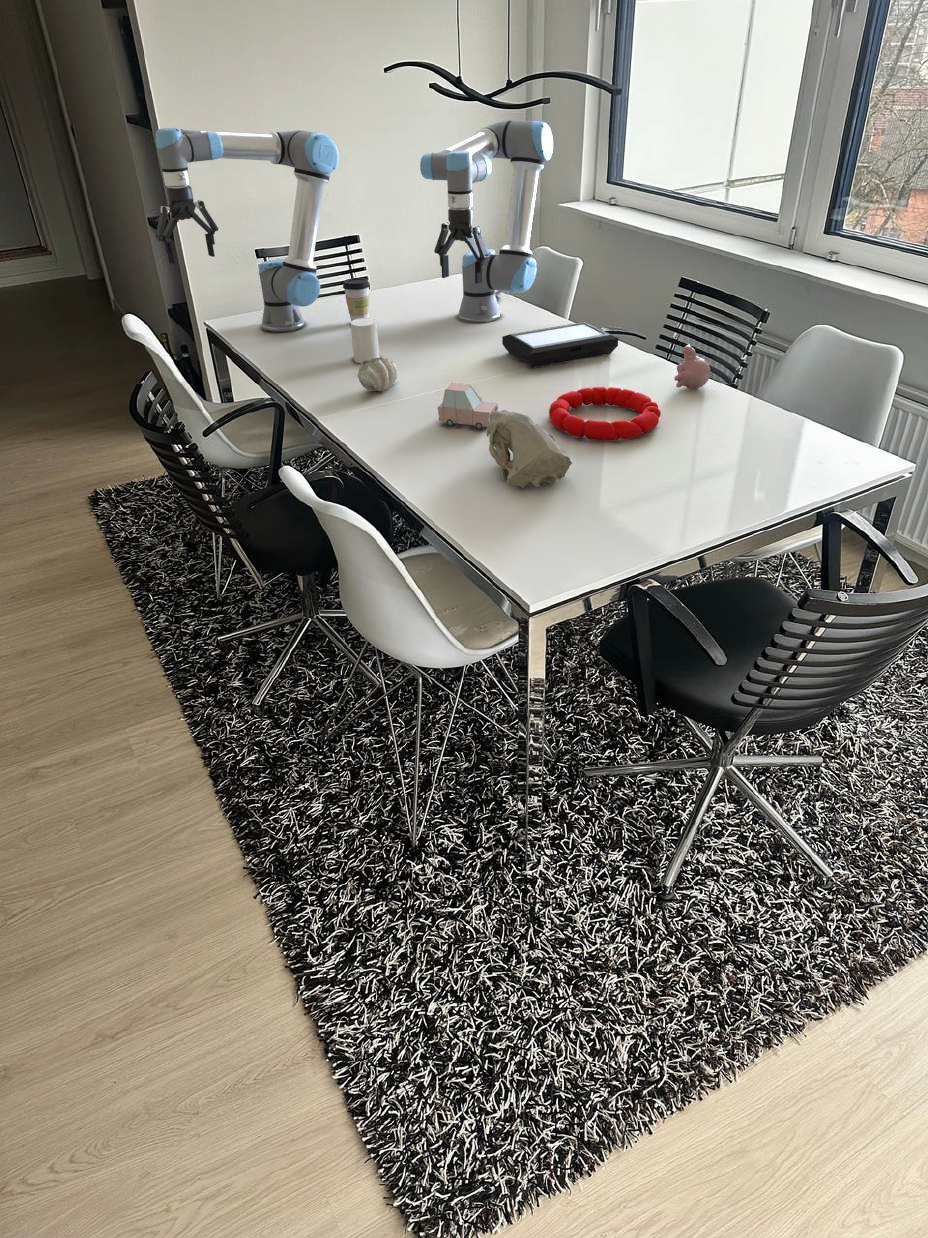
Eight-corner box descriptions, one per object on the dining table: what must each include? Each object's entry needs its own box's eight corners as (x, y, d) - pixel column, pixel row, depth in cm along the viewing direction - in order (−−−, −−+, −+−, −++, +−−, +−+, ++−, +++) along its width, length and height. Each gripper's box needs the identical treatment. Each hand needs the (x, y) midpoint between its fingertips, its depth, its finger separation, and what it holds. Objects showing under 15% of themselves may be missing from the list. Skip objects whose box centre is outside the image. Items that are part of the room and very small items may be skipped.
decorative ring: (589, 435, 224) (684, 402, 234) (527, 398, 247) (617, 369, 256) (589, 461, 229) (683, 427, 238) (529, 422, 251) (617, 393, 260)
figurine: (665, 387, 264) (669, 347, 257) (693, 380, 268) (698, 340, 261) (686, 396, 257) (690, 355, 250) (714, 388, 262) (720, 348, 255)
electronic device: (530, 350, 276) (502, 333, 291) (530, 370, 279) (502, 352, 294) (618, 335, 286) (586, 319, 301) (617, 354, 290) (585, 338, 305)
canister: (349, 361, 292) (345, 323, 285) (363, 353, 298) (359, 316, 291) (370, 364, 289) (367, 326, 282) (384, 357, 295) (381, 319, 288)
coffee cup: (372, 326, 323) (368, 283, 314) (345, 327, 323) (340, 284, 315) (374, 318, 331) (371, 276, 322) (348, 319, 331) (344, 277, 323)
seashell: (350, 390, 269) (347, 357, 264) (395, 380, 275) (392, 348, 270) (364, 400, 262) (360, 367, 256) (409, 390, 268) (407, 357, 262)
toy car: (488, 432, 240) (488, 396, 234) (436, 426, 244) (434, 390, 239) (499, 419, 247) (499, 384, 241) (448, 413, 252) (447, 379, 246)
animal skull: (496, 517, 219) (521, 479, 201) (463, 429, 225) (484, 384, 207) (557, 503, 225) (586, 465, 206) (523, 417, 231) (549, 373, 212)
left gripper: (144, 192, 261) (160, 268, 273) (221, 181, 274) (233, 254, 286) (134, 190, 266) (150, 264, 278) (209, 179, 279) (222, 251, 291)
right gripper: (421, 206, 277) (424, 277, 289) (485, 213, 264) (485, 287, 276) (436, 202, 282) (439, 272, 294) (500, 209, 269) (500, 282, 281)
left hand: (192, 259), depth 282 cm, fingers open, 13 cm apart
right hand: (461, 279), depth 285 cm, fingers open, 13 cm apart
